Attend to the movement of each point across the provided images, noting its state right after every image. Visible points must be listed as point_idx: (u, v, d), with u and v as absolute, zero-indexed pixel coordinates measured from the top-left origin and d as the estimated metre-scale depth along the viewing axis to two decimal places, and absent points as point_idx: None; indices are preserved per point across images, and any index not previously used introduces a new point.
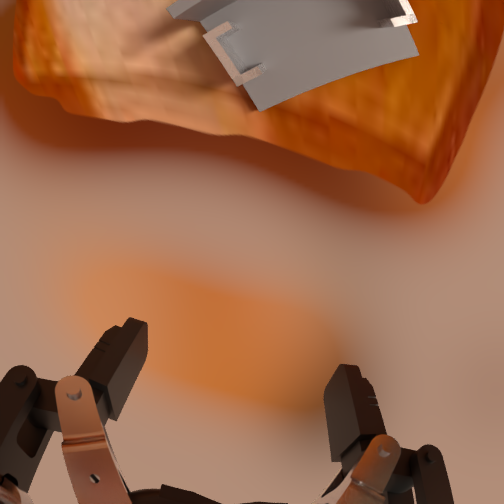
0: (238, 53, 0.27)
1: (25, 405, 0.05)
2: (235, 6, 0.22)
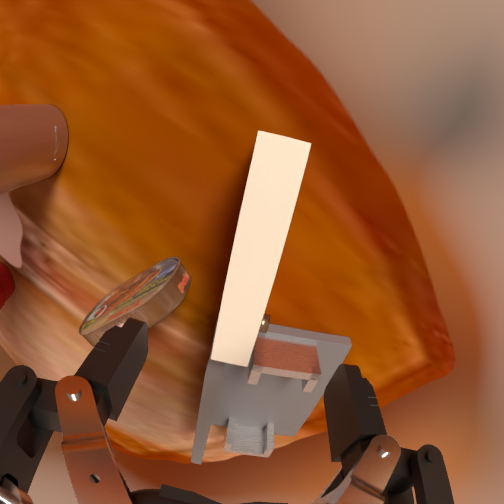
0: (249, 426, 0.38)
1: (25, 405, 0.05)
2: (216, 410, 0.37)
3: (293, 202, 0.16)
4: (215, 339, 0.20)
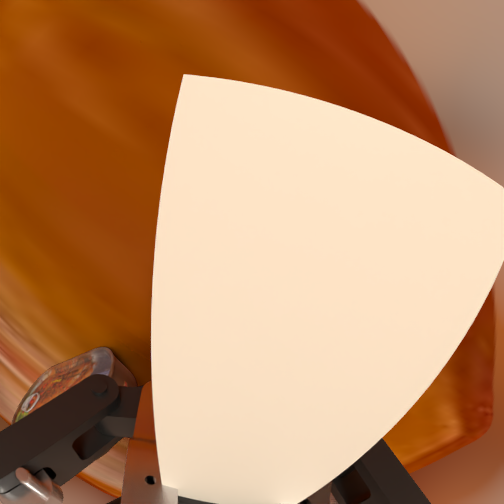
0: None
1: (95, 416, 0.06)
2: None
3: (364, 446, 0.03)
4: None
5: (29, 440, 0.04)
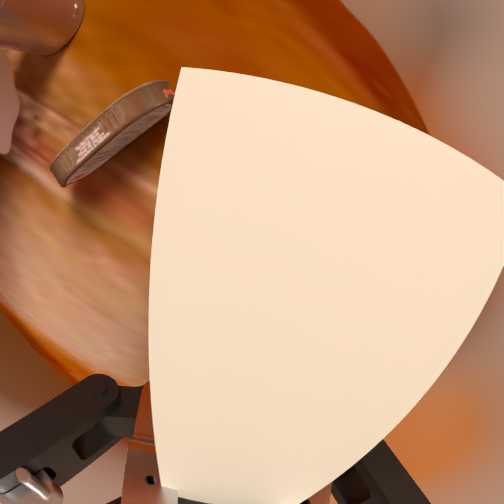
0: None
1: (95, 416, 0.06)
2: None
3: (366, 446, 0.03)
4: None
5: (29, 440, 0.04)
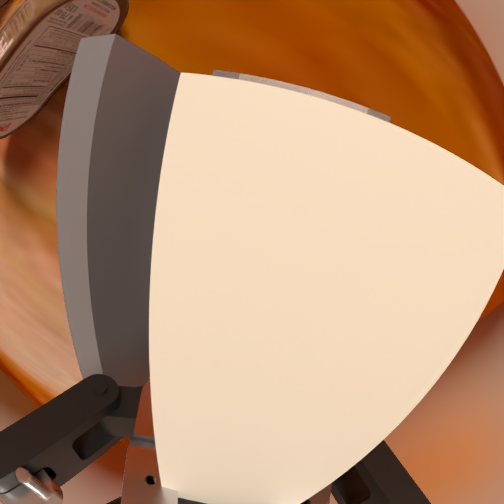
0: None
1: (95, 416, 0.06)
2: None
3: (365, 448, 0.03)
4: None
5: (29, 440, 0.04)
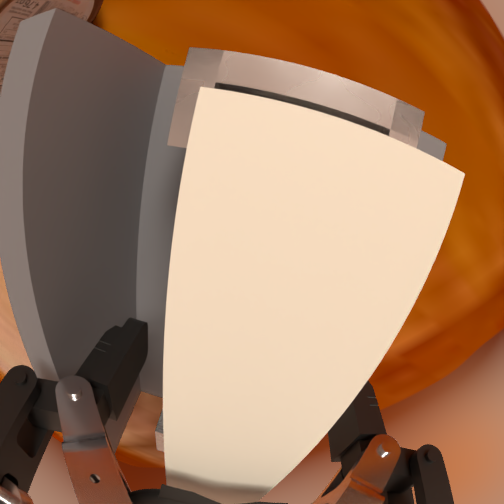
0: None
1: (25, 406, 0.05)
2: None
3: (348, 396, 0.04)
4: None
5: None
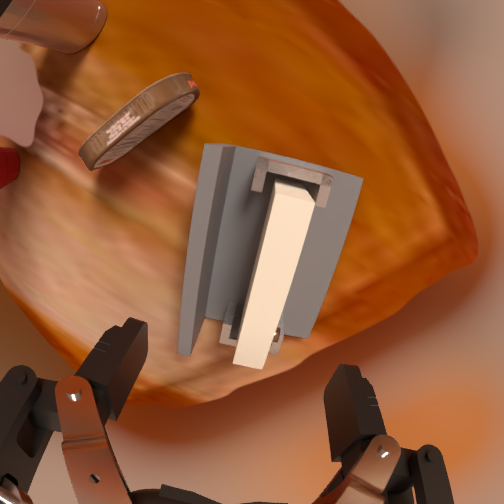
0: None
1: (25, 406, 0.05)
2: (214, 289, 0.35)
3: (300, 246, 0.21)
4: (237, 347, 0.26)
5: None
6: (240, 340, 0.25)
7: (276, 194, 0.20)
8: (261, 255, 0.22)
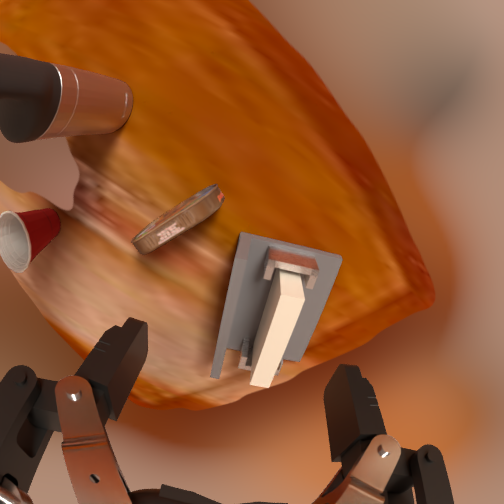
0: None
1: (25, 405, 0.05)
2: (233, 330, 0.48)
3: (295, 322, 0.35)
4: (253, 375, 0.39)
5: None
6: (255, 371, 0.38)
7: (281, 295, 0.33)
8: (270, 326, 0.35)
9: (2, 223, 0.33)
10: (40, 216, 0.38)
